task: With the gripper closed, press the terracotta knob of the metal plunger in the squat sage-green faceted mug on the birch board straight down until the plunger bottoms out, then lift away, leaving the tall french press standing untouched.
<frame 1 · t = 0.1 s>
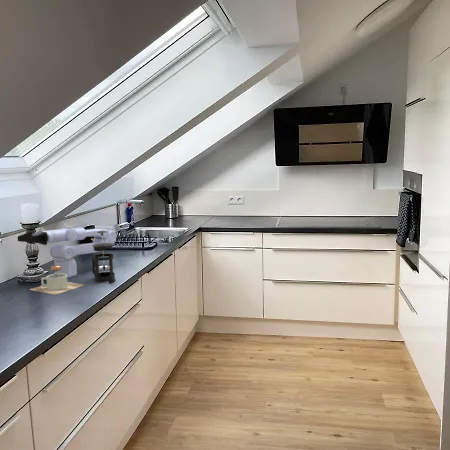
hand: (23, 239, 200), 22 cm above the worktop, tool horizontal, fingers open, 7 cm apart
faceted mug: (57, 287, 200), resting on serving board
serving board: (57, 289, 200), on the worktop
french press: (104, 281, 212), on the worktop
plunger: (56, 272, 199), point 7 cm above the worktop, slide at 0.0 cm
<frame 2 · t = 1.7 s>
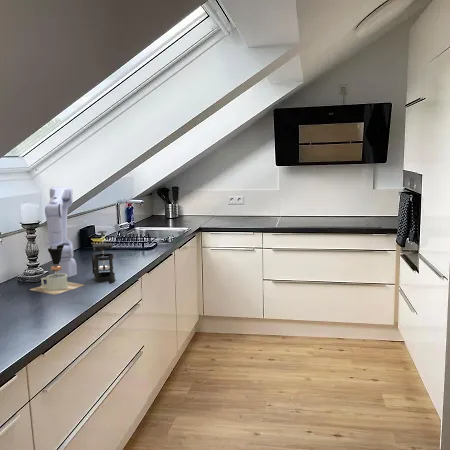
hand: (57, 263, 204), 10 cm above the worktop, tool pointing down, fingers open, 6 cm apart
nothing on the worktop moved.
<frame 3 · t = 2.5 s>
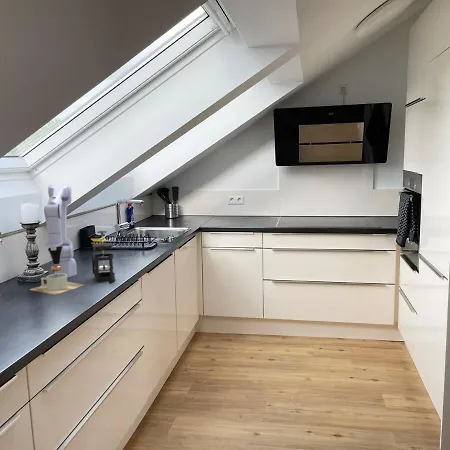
hand: (56, 264, 201), 11 cm above the worktop, tool pointing down, fingers closed
nothing on the worktop moved.
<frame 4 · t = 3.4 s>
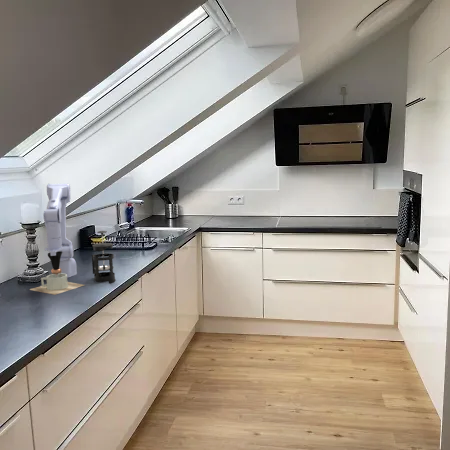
hand: (56, 269, 199), 9 cm above the worktop, tool pointing down, fingers closed, pressing on plunger
plunger: (56, 275, 200), point 6 cm above the worktop, slide at 1.3 cm, touching gripper
everything else where it was.
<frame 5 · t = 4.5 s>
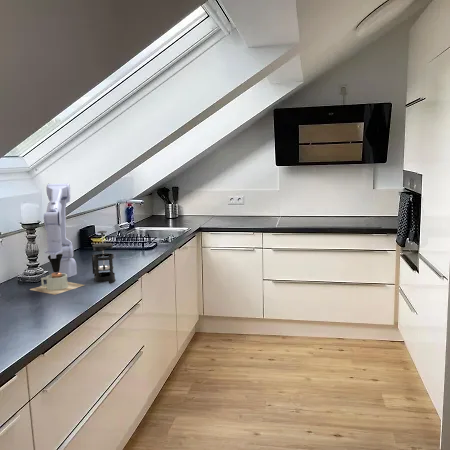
hand: (56, 271, 199), 8 cm above the worktop, tool pointing down, fingers closed
plunger: (57, 279, 200), point 4 cm above the worktop, slide at 3.0 cm
everything else where it was.
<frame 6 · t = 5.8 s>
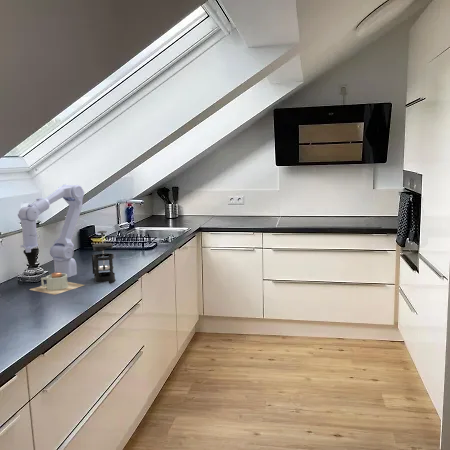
hand: (32, 265, 204), 9 cm above the worktop, tool pointing down, fingers closed
nothing on the worktop moved.
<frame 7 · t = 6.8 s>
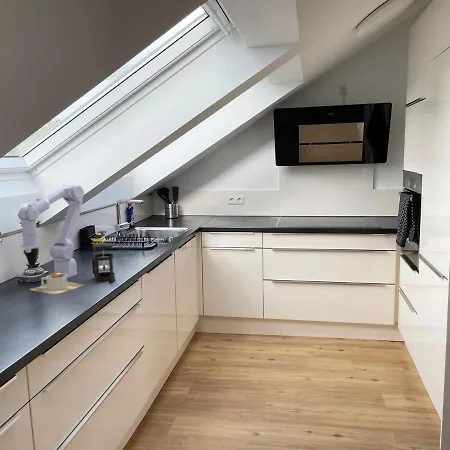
hand: (32, 265, 204), 9 cm above the worktop, tool pointing down, fingers closed
nothing on the worktop moved.
at the end: plunger slide at 3.0 cm; french press tilted 0°; french press moved 0.2 cm from its start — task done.
